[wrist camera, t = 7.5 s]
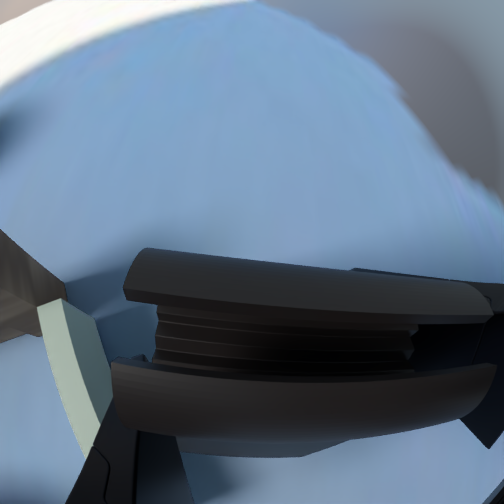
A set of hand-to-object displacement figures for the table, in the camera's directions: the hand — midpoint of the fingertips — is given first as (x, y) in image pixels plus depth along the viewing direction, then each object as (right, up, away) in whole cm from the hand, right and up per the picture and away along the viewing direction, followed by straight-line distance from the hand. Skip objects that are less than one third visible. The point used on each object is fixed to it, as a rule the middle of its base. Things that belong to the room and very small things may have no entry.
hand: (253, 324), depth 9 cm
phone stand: (0, -4, +6) cm, 7 cm away
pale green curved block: (-8, -8, +6) cm, 13 cm away
